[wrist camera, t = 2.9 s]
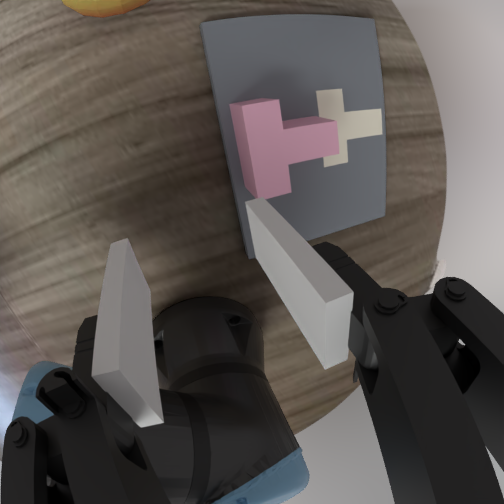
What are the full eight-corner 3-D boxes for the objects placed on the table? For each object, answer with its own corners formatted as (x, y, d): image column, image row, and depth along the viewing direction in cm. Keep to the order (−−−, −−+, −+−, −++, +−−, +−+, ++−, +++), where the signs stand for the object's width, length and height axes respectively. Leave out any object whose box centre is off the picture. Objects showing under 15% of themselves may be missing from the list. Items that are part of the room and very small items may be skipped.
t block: (244, 186, 28) (258, 201, 25) (229, 104, 24) (241, 105, 21) (319, 168, 30) (340, 179, 26) (311, 91, 25) (333, 92, 22)
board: (246, 253, 33) (249, 259, 32) (199, 25, 20) (201, 22, 19) (379, 212, 36) (384, 215, 35) (367, 20, 23) (373, 19, 22)
